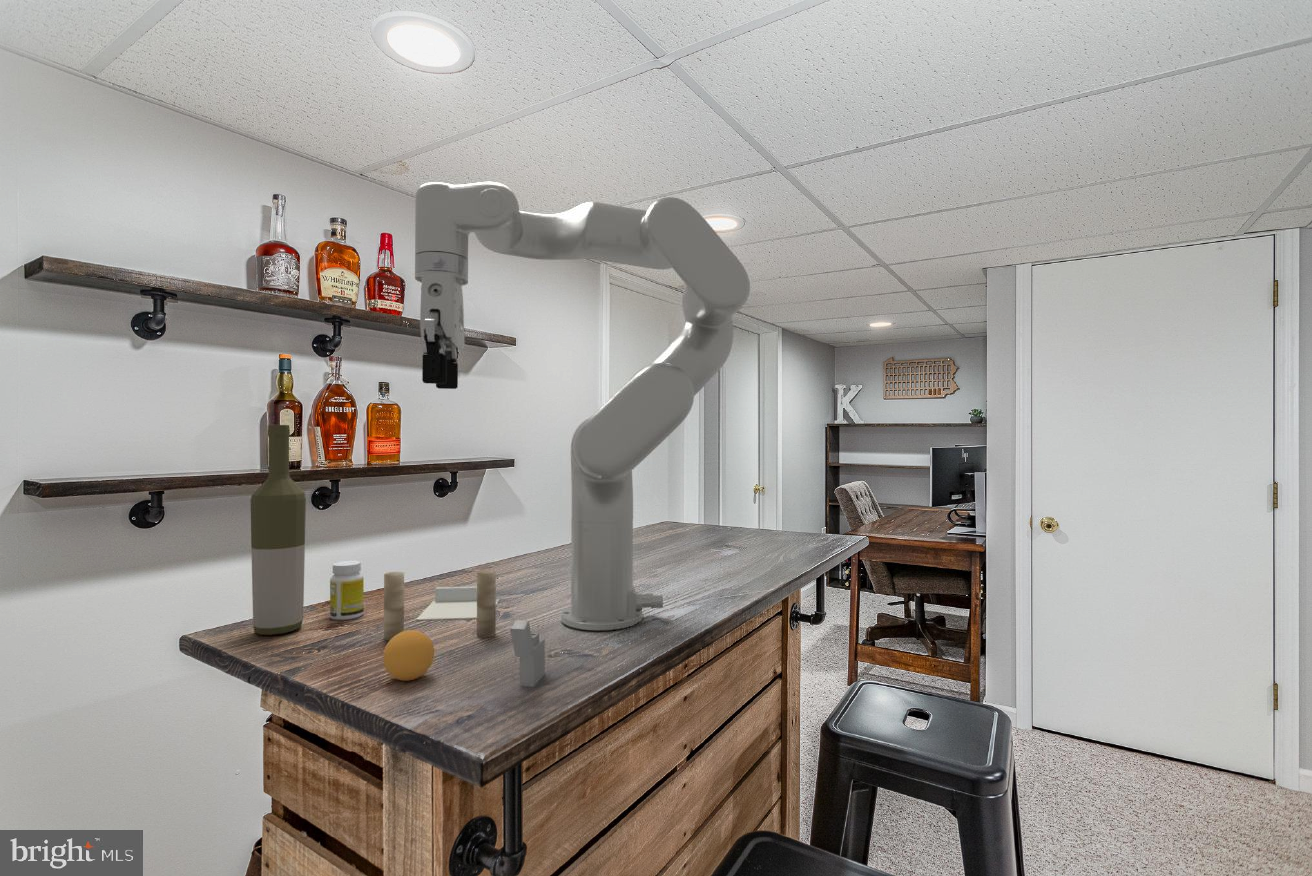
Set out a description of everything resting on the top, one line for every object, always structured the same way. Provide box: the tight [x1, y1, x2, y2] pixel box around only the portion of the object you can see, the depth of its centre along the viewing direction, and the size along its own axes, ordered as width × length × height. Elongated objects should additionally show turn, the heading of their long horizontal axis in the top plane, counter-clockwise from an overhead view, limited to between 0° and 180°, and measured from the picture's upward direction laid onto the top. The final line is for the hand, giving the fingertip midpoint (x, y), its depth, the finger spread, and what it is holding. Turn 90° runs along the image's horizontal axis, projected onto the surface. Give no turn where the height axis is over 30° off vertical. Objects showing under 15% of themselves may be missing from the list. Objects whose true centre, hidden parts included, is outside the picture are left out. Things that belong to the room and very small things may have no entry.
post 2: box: [476, 569, 497, 639], centre depth 91 cm, size 3×3×9 cm
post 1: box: [383, 571, 405, 642], centre depth 90 cm, size 3×3×9 cm
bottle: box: [250, 424, 307, 636], centre depth 93 cm, size 7×7×30 cm
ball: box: [382, 629, 435, 682], centre depth 75 cm, size 6×6×6 cm
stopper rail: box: [434, 585, 477, 602], centre depth 109 cm, size 10×1×2 cm, turn 96°
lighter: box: [509, 619, 546, 688], centre depth 73 cm, size 7×2×8 cm, turn 172°
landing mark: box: [415, 598, 500, 621], centre depth 104 cm, size 11×11×1 cm
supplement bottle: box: [329, 560, 365, 621], centre depth 101 cm, size 5×5×8 cm
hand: (441, 386), depth 95 cm, fingers open, 9 cm apart
